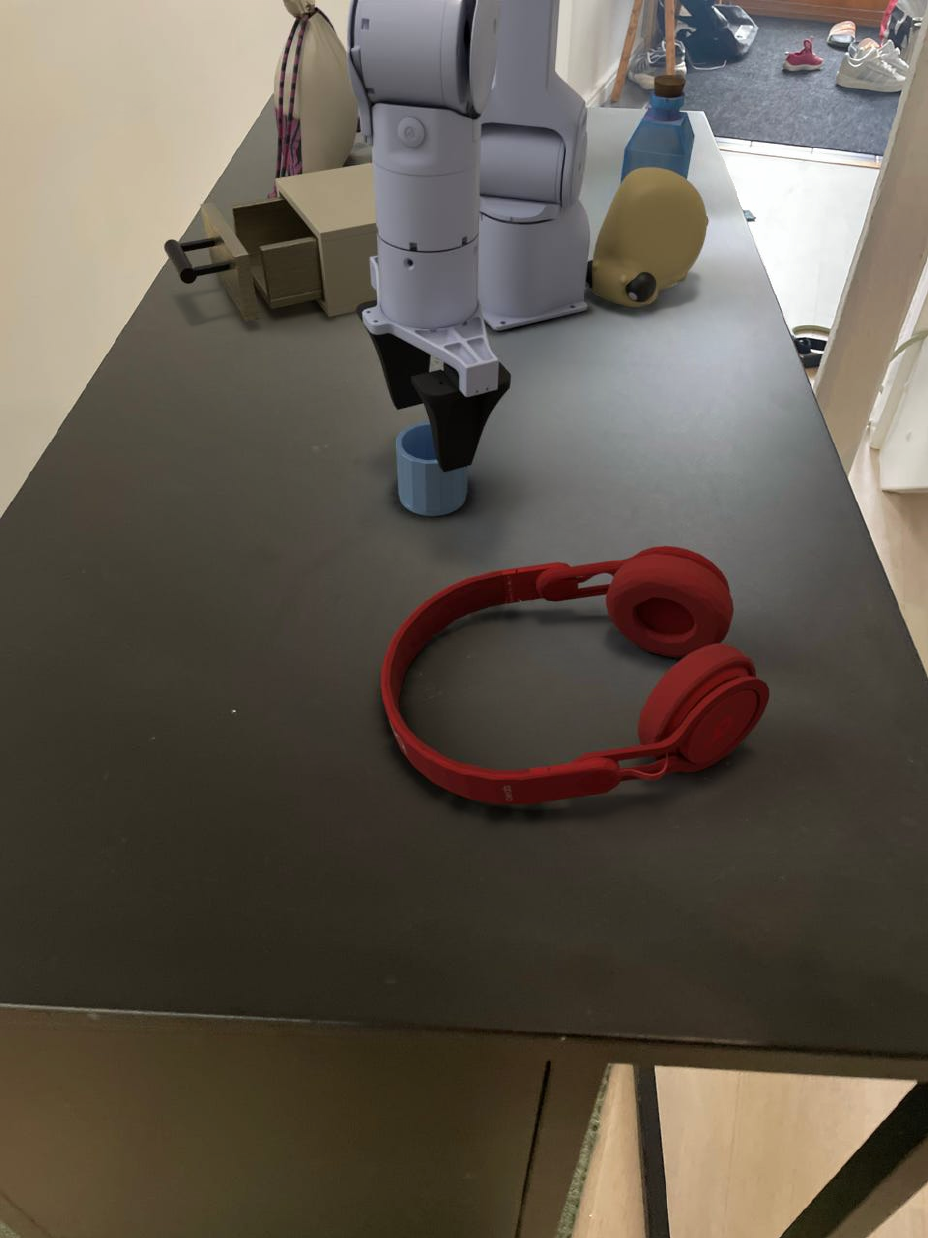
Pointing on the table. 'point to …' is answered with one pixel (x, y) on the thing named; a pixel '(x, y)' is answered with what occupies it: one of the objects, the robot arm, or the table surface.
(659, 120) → the blue corked bottle
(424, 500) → the cup
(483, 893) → the table surface
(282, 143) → the pouch
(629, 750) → the headphones
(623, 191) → the tan rounded piece
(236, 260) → the drawer
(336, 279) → the wooden drawer box
